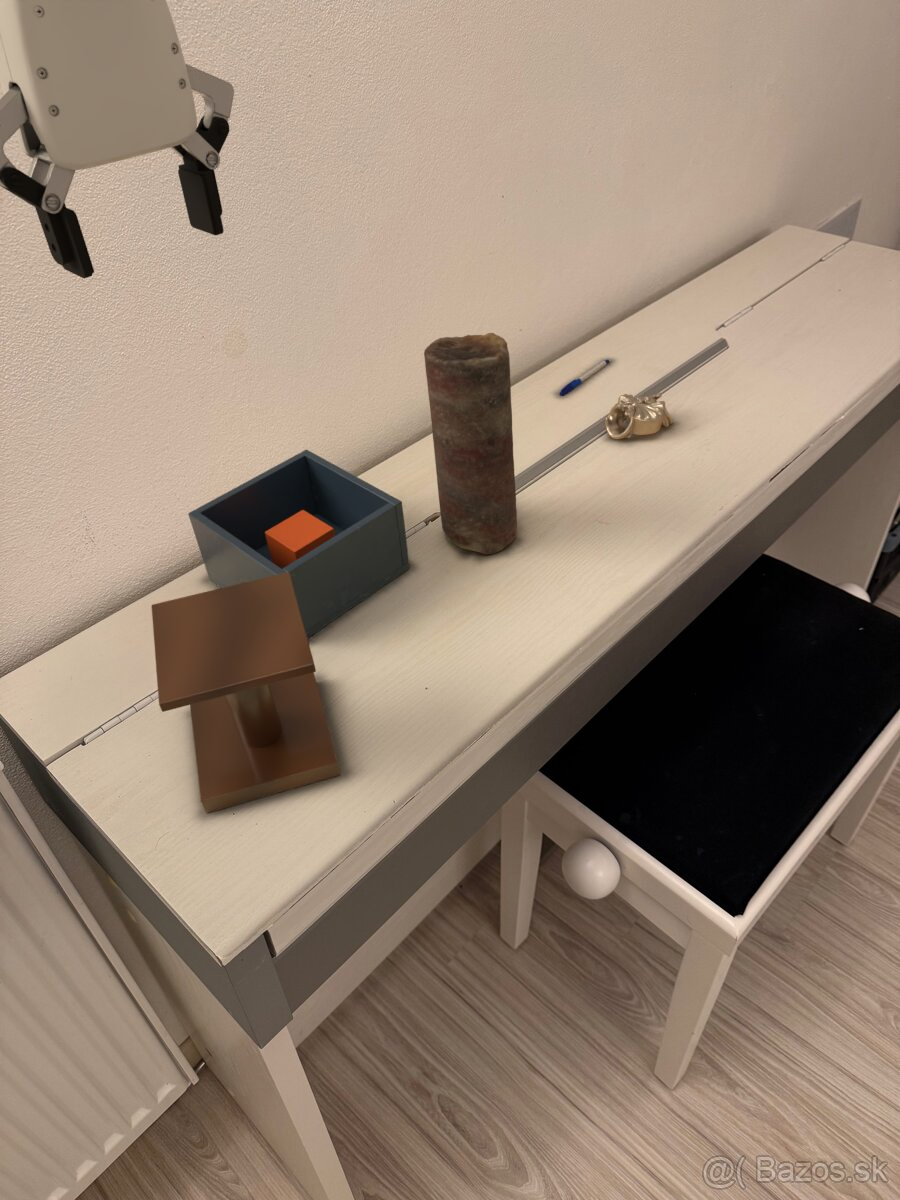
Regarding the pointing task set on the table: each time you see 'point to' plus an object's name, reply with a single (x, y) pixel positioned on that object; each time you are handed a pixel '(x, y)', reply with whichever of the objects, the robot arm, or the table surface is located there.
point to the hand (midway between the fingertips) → (146, 250)
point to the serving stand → (244, 689)
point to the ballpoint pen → (582, 378)
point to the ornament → (637, 416)
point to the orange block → (296, 538)
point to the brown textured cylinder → (473, 439)
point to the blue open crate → (327, 573)
